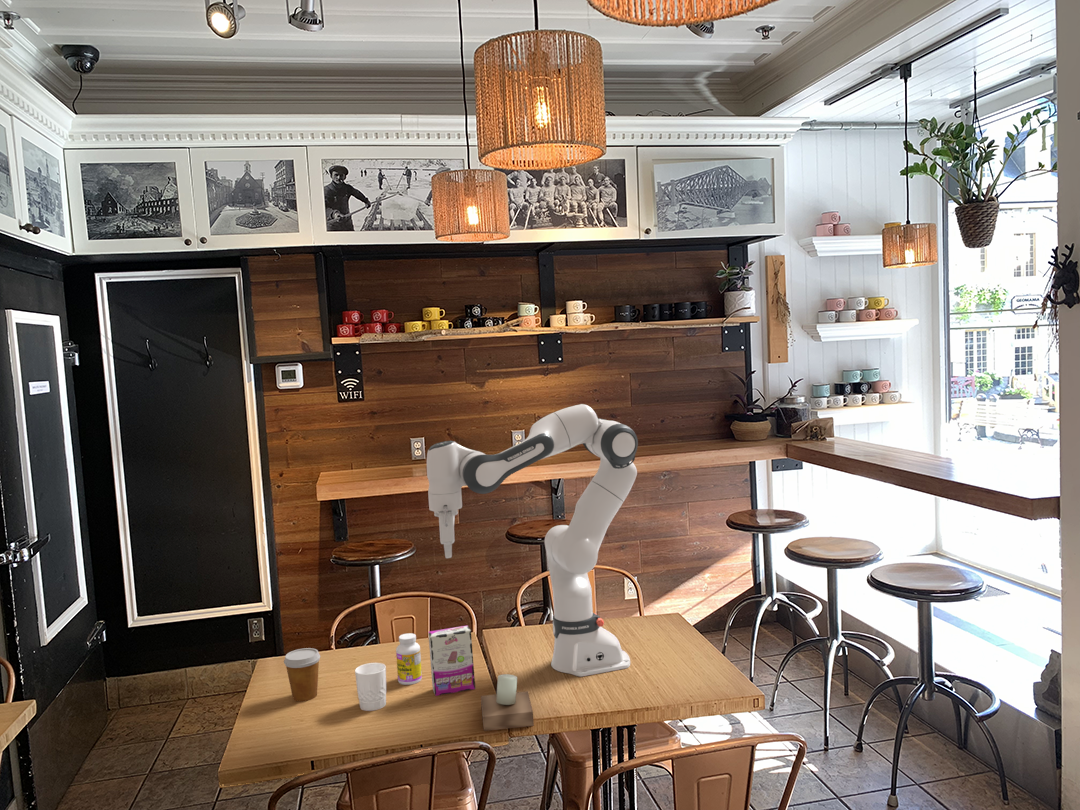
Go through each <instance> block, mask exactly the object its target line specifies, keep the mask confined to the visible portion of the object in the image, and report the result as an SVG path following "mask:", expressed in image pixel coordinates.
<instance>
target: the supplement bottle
mask: <svg viewBox="0 0 1080 810" xmlns="http://www.w3.org/2000/svg"><path fill="white" fill-rule="evenodd" d="M416 641H417V635H416V634H415V633H412V632H411V633H410V632H409V633H402V634H400V635H399V636H398V642H399V644H398V645H397V646H396V648H395V651H396V652H395V655H396V669H397V682H398V683H399V684H400V685H405V686H409V685H414V684H419V682H421V681H422V679H423V675H422V673H423V672H422V659H421V658H422V655H421V646H420V644H419V643H418V642H416Z"/></svg>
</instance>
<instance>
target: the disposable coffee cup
mask: <svg viewBox="0 0 1080 810" xmlns="http://www.w3.org/2000/svg"><path fill="white" fill-rule="evenodd" d="M284 656H285V657H284V659H283V664H284V665H285V669H286V671H287V676H288V681H289V687H290V691H291V697H292V700H293V701H295V702H307V701H308V702H309V701H311V700H314V699H315V698H316V697H317V696H318V687H319V686H318V684H319V682H318V681H319V666H320V665H319V664H320V662H319V661H320V658H321V654H320V652H319V650H318V649H316V648H313V647H312V648H311V647H308V648H307V647H306V648H305V647H304V648H298V649H295V650H292V651H289V652H287V653H286V654H285V655H284Z"/></svg>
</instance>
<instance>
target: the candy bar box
mask: <svg viewBox="0 0 1080 810" xmlns="http://www.w3.org/2000/svg"><path fill="white" fill-rule="evenodd" d="M427 633H428V644H429V646H428V647H429V658H430V659H429V660H430V668H431V669H430V672H431V683H432V684H431V686H432V690H433V693H434V696H435V697H436V696H437V697H438V696H443V695H449V694H455V693H460V692H465V691H466V692H467V691H471V690H475V689H476V682H475V681H476V680H475V679H476V678H475V677H476V676H475V667H474V653H473V643H472V642H473V640H472V629H470V627H469V625H461V626H456V627H449V628H444V629H436V630H430V631H428V632H427Z"/></svg>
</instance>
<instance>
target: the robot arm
mask: <svg viewBox="0 0 1080 810" xmlns="http://www.w3.org/2000/svg"><path fill="white" fill-rule="evenodd" d="M578 445H583V446H584V448H585V449H586V450H587V451H588V452H589V453H590V454H592V455H595V456H596V457H598V458H600V460H599V465H598V468H597V469H598V470H597V471H596V473H595V475H594V476H593V477H592V478H591V480H590V482H589V483H588V485H587V486H586V488H585V489H584V491H583V493H582V494H581V495H580V497H579V498H578V500H577V501H576V503H575V509H574V513H573V516H572V518H571V519H570V522H569V525H567V524H560V525H555V526H553V527H551V528H550V529H549V530H548V531H547V533H546V534H545V537H544V547H545V552H546V557H547V558H546V559H547V564H548V571H549V576H550V580H551V581H550V582H551V589H552V597H553V598H552V599H553V600H552V601H553V616H552V633H553V636H554V640H553V641H554V642H553V643H554V644H553V655H552V659H551V663H550V666H551V668H552V669H554V670H555V671H557V672H561V673H565V674H570V675H573V676H575V677H586V676H592V675H596V674H602V673H608V672H613V671H618V670H619V671H620V670H624V669H625V670H626V669H628V668H629V667H630V666H631V657H630V656H629V654H628V653H627V652H626V651H625V650H623V649H622V647H621V644H620V641H619V639H618V638H617V636H616V635H615V634H613V633H611V631H609V630H607V629H605V628H604V627H603V626H604V625H605V622H604V620H603V618H601V616H600V615H599V614H597V613H596V612H593V595H592V593H593V592H592V590H593V589H592V586H591V582H590V579H589V575H588V573H589V572H591V571H592V570H593V569H594V568H595V566H597V565H596V564H597V563H598V556H599V552H600V551H599V550H600V548H601V545H602V543H603V541H604V538H605V535H606V533H607V530H608V528H609V526H610V524H611V523H612V521H613V520H614V518H615V516H616V514H617V513H618V512H619V510H620V509H621V507H622V505H623V504H624V502H625V500H626V499H627V497H628V496H629V493H630V492H631V491H632V487H633V485H634V483H635V482H636V478H637V475H638V470H637V467H636V465H635V463H634V461H635V460H636V454H637V451H638V447H639V446H638V445H639V439H638V436H637V434H636V433H635V431H634V429H632V428H631V427H630V426H628V425H626V424H624V423H622V422H621V423H620V422H619V421H615V420H607V419H603V418H598V415H597V413H596V412H595V410H594V409H593V408H592V407H591V406H589V405H587V404H584V403H580V404H576V405H572V406H568V407H565V408H562V409H559V410H557V411H554V412H551V413H549V414H547V415H545V416H543V417H542V418H540V419H538V420H537V421H536V422H535V423H533V424H532V425H531V427H530V429H529V434H528V436H527V437H526V438H525V439H524V440H523V441H521V442H519V443H517V444H516V445H512V446H511V447H509V448H507V449H505V450H503V451H501V452H499V453H496V454H486V453H485V452H482V451H480V450H475V449H470V448H468V447H465V446H462V445H461V444H459V443H458V442H456V441H453V440H445V441H441V442H437V443H435V444H433V445H432V444H431V446H430V447H429V449H428V450H427V453H426V478H427V479H428V491H427V493H428V507H429V508H428V510H429V511H431V512H433V513H434V514H433V515H434V517H437V518H438V524H439V540H440V544H441V545H443V549H444V557H445V559H451V558H452V557H453V544H454V543H455V541H456V540H455V519H456V518H455V517H456V516H457V515H458V514H459V510H460V509H462V508H463V497H462V487H466V486H467V488H468V489H469V490H470V491H472V492H473V493H476V494H480V495H481V494H482V495H484V494H485V495H486V494H489V493H492V492H493V491H495V490H497V489H498V488H499V487H500V486H501V485H502V483H503V482H504V481H505V480H506V479H508V478H509V477H510V476H511V475H513V474H514V473H517V472H519V471H521V470H522V469H525V468H527V467H528V466H530V465H532V464H534V463H536V462H538V461H540V460H543V459H546V458H549V457H552V456H555V455H558V454H561V453H563V452H566V451H568V450H570V449H572V448H575V447H577V446H578Z"/></svg>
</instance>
